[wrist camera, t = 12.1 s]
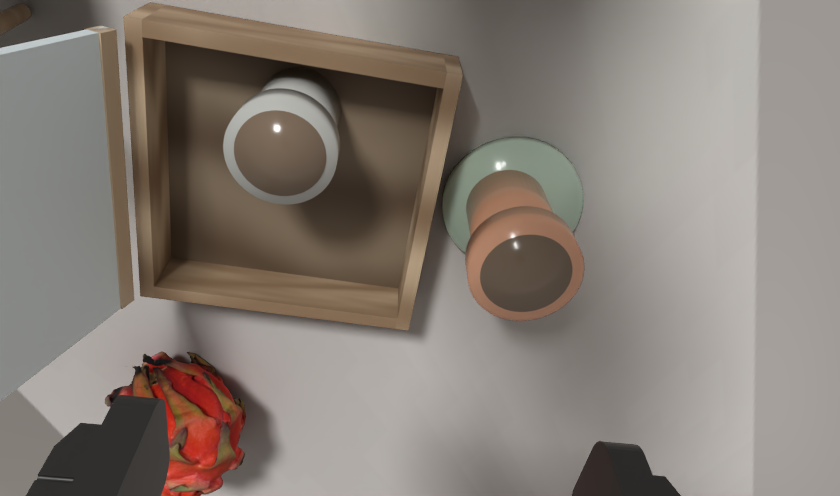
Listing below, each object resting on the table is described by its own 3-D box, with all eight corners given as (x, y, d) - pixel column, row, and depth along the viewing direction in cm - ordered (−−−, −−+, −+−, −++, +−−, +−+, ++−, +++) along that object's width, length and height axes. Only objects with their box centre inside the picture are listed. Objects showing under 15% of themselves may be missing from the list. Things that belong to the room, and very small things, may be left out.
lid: (116, 29, 29) (101, 25, 29) (-252, 113, 17) (-275, 105, 17) (134, 299, 36) (122, 295, 36) (-109, 487, 24) (-125, 480, 25)
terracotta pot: (469, 154, 36) (482, 215, 30) (566, 170, 37) (600, 233, 30) (448, 241, 39) (457, 313, 33) (539, 254, 40) (565, 327, 33)
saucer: (457, 126, 36) (458, 130, 35) (599, 149, 37) (602, 154, 36) (430, 250, 40) (431, 256, 40) (557, 268, 41) (560, 274, 40)
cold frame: (13, -23, 31) (-184, 34, 21) (457, 57, 34) (481, 142, 23) (51, 249, 40) (-77, 388, 29) (408, 297, 42) (409, 441, 31)
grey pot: (255, 51, 33) (223, 91, 27) (353, 68, 34) (343, 110, 28) (251, 143, 36) (221, 196, 30) (342, 158, 36) (330, 212, 31)
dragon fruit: (217, 437, 51) (177, 306, 46) (289, 474, 46) (252, 331, 41) (118, 509, 45) (61, 366, 40) (190, 560, 40) (133, 404, 35)
